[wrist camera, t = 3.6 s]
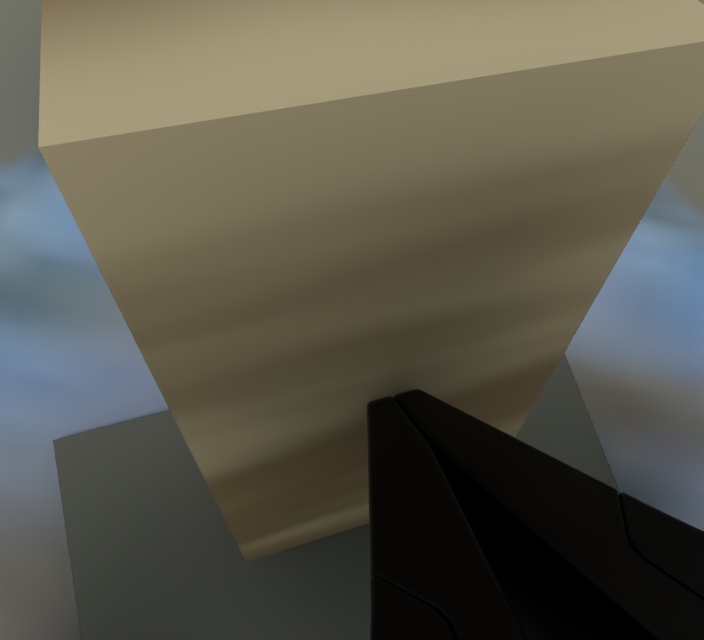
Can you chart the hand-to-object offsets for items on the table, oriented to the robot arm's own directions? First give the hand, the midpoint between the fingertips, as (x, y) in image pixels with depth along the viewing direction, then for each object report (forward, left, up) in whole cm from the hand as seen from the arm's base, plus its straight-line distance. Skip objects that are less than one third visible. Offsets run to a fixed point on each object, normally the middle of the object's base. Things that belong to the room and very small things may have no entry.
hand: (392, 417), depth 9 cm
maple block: (0, 0, -6) cm, 6 cm away
